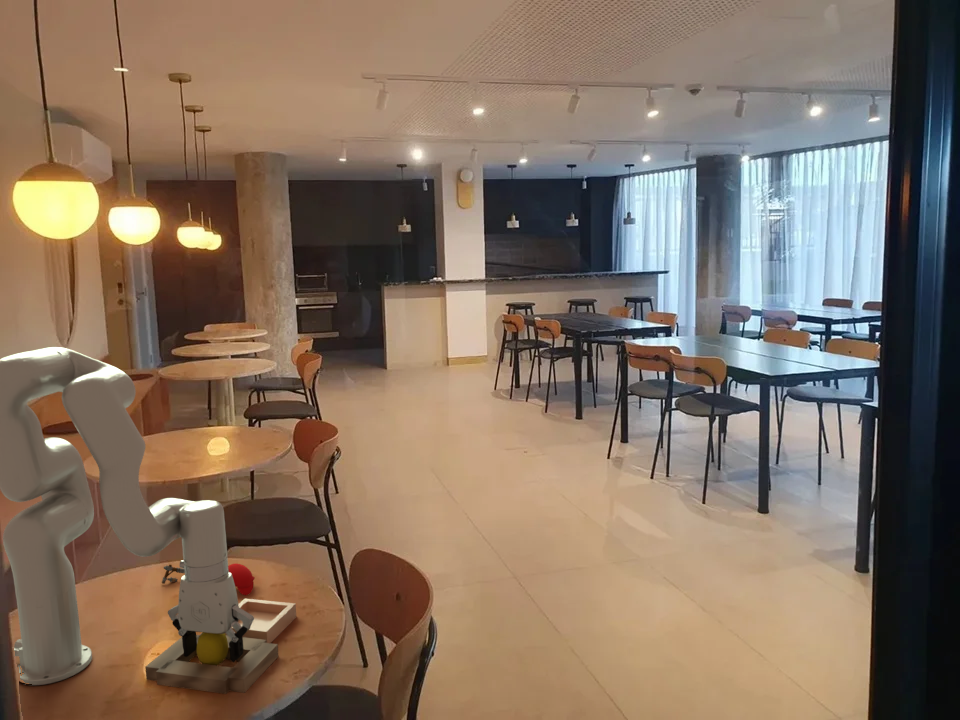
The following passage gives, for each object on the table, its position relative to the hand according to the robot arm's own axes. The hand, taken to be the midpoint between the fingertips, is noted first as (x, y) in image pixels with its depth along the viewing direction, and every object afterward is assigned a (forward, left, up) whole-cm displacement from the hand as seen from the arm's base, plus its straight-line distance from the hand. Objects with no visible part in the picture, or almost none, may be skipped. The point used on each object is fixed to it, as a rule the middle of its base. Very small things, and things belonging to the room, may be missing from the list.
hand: (213, 655), depth 137 cm
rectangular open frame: (0, 0, -2) cm, 2 cm away
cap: (-13, +30, -3) cm, 33 cm away
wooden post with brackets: (-30, +32, -3) cm, 44 cm away
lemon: (0, 0, -3) cm, 3 cm away
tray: (0, +15, -2) cm, 15 cm away
